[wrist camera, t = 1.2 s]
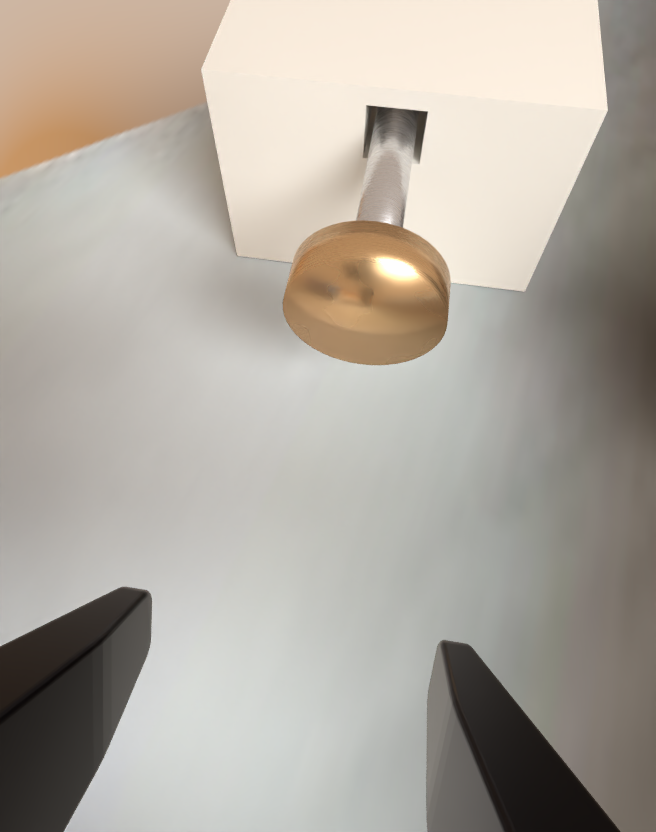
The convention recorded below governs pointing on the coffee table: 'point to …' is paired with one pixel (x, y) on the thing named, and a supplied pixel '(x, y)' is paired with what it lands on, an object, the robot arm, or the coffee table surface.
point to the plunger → (372, 267)
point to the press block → (436, 129)
